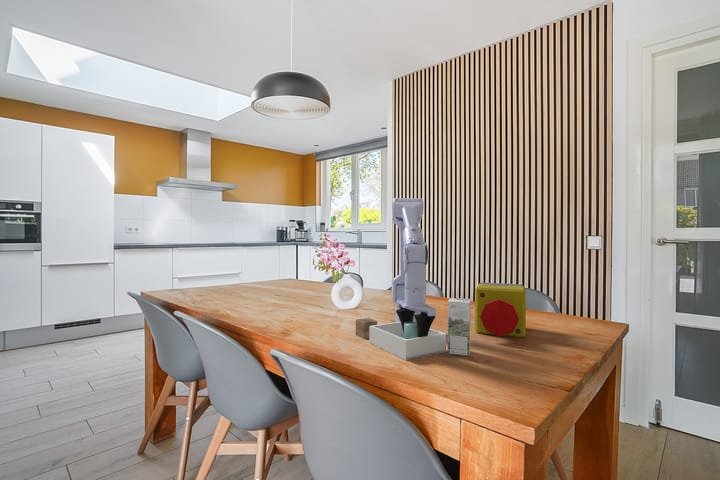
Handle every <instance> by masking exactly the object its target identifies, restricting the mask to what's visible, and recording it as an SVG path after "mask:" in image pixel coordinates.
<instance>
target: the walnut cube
mask: <svg viewBox="0 0 720 480" xmlns="http://www.w3.org/2000/svg"><path fill="white" fill-rule="evenodd" d="M373 325H378V320H376V319H373V318H370V317H367V318H358V319H355V336H357V337H359V338H361V339H362V340H365V339H369V326H373Z"/></svg>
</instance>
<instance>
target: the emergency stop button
mask: <svg viewBox="0 0 720 480" xmlns="http://www.w3.org/2000/svg"><path fill="white" fill-rule="evenodd" d="M525 288H526V287H525V286H524V285H523V284H521V283H503V282H502V283H500V282H499V283H498V282H496V283H495V282H479V283H478V284H477V286H476V287H475V294H474V295H475V296H474V297H475V300H474V303H475V305H474V308H475V309H474V314H475V315H474V319H475V321H474V325H475V326H474V331H475V333H477V334H483V335H494V336H497V337H502V336H503V337H514V338H524V337H526V334H527V333H526V329H527V328H526V325H527V323H526V321H527V319H526V317H527V315H526V313H527V312H526V311H527V310H526V309H527V308H526V306H527V303H526V302H527V298H526V297H527V293H526V292H527V291H526V289H525Z"/></svg>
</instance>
